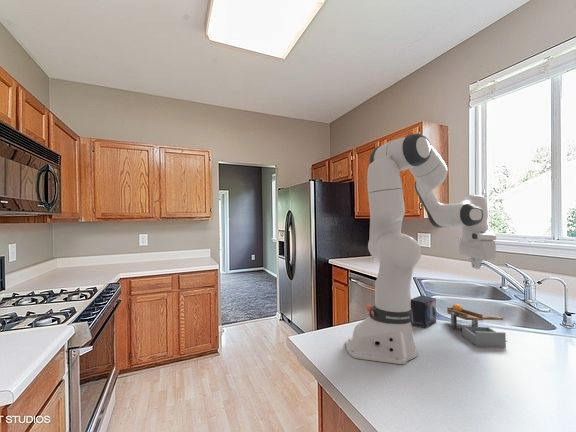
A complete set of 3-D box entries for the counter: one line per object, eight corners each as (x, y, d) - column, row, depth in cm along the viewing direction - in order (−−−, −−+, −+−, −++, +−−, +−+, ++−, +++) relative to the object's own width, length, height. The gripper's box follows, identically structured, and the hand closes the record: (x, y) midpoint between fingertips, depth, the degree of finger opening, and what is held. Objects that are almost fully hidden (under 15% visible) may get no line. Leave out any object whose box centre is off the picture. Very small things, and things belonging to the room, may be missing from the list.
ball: (455, 312, 114) (453, 303, 115) (451, 312, 117) (450, 303, 118) (464, 312, 113) (462, 303, 115) (460, 312, 117) (458, 303, 118)
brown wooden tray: (465, 320, 103) (464, 313, 104) (447, 313, 118) (446, 307, 118) (506, 321, 102) (505, 314, 102) (482, 314, 116) (482, 308, 117)
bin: (476, 347, 94) (476, 332, 94) (462, 335, 103) (462, 322, 103) (505, 348, 93) (505, 332, 93) (489, 336, 102) (488, 323, 102)
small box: (425, 329, 110) (425, 302, 110) (409, 324, 115) (409, 299, 115) (437, 322, 117) (436, 297, 117) (421, 318, 122) (421, 294, 122)
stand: (453, 329, 109) (453, 314, 109) (448, 326, 113) (448, 311, 113) (480, 330, 108) (480, 315, 108) (475, 326, 112) (474, 312, 112)
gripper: (454, 233, 125) (455, 264, 125) (481, 235, 105) (482, 272, 104) (469, 233, 124) (470, 264, 124) (499, 235, 104) (500, 272, 104)
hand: (475, 268), depth 114 cm, fingers closed
